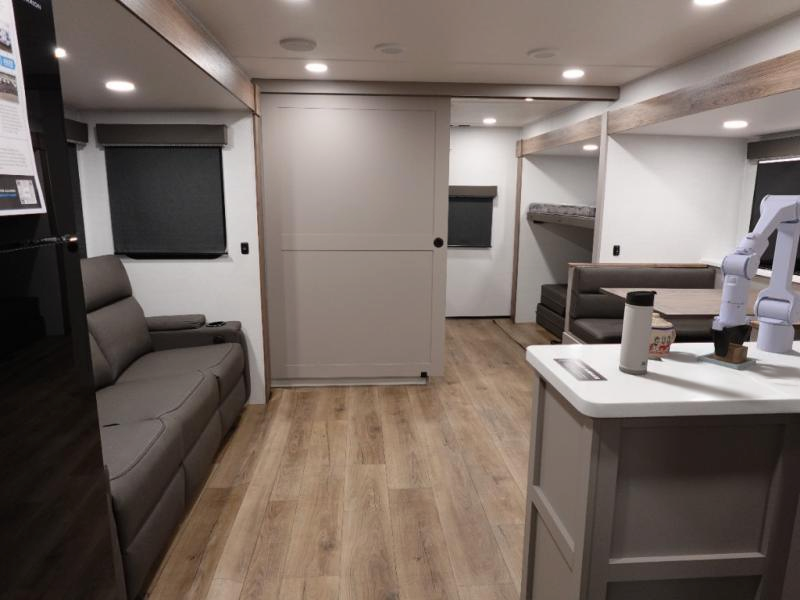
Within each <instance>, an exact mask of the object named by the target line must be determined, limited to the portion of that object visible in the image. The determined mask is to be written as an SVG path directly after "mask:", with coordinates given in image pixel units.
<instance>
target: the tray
mask: <svg viewBox="0 0 800 600" xmlns="http://www.w3.org/2000/svg"><path fill="white" fill-rule="evenodd" d="M713 357H714V351H712V352H710V353H705V354H700V355H698V356H697V361H700V362H704V363H708V364H712V365H715V366H718V367H720V366H721V367H723V368H724V367H725V368H728V369H732V370H736V371H738V370H741V369H745V368H748V367H752V366H755V365H756V364H757V360H755V359H751V358H748V357H747V359H746V362H744V363H741V364H737V365H735V364H731V363H727V362H723V361H718V360H714V359H713Z"/></svg>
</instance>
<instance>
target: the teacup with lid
mask: <svg viewBox="0 0 800 600" xmlns="http://www.w3.org/2000/svg"><path fill="white" fill-rule="evenodd" d="M673 325H674V324H673V323H671V322H669V321H667V320H666V319H664V318H663V317H660V313H657V312H653V318H652V328H651V337H650V346H649V355H648V360H657V361H658V360H659V361H660V360H662V358H661V357H667V356H669V355H670V349H671V345H672V344H673V343H674V342H675V339H676V336H677V335H676V331H675V329H674V326H673Z"/></svg>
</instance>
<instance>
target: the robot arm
mask: <svg viewBox="0 0 800 600" xmlns="http://www.w3.org/2000/svg"><path fill="white" fill-rule="evenodd" d="M759 212H760V218H759V219H758V221H757V223H756V224H755V227H754V229H753V230H752V232H749V233H746V234H745V235H744V236H743V238H742V239H741V241H740V242H739V243H738V245H737V246H736V248H735V249H734V251H733V252H732V253H729V254H728V255H726V256H725V257H723V259H722V262H721V265H720V272H721V283H722V284H723V285H722V294H721V299H720V300H721V302H720V307H719V315H716V316H714V317H713V319H714V320H713V321H712V326H709V328H708V332H709V334H710V336H711V339H712V342H713V347H714V350H715V355H716V356H720V357H725V356H726V354H727V351H728V347H729V344H730V343H733V344H738V345H742V346H744V343H745V341H746V340H747V337H748V336H749V334H750V333H752V331H753V327H752V326H750V321H751V317H750V316H747V313H748V305H749V304H748V303H749V298H750V291H751V283H752V279H753V278H754V277H755V276H756V275H757V274H758V268H759V265H760V262H761V260H760V259H761V257H762V256H763V254H764V253H765V251H766V250H767V248H768V247H769V245H770V243H769V239H768V238H769V237H770V236H771V235H772V233H774V231H775V230H777V235H776V241H775V249H774V253H773V254H774V255H773V261H772V268H771V275H770V279H769V286H768V287H767V288H764V289H762V290H760V292H758V294H757V298H756V301H755V302H754V305H753V313H754V315H755V317H756V319H757V321H759V324H758V325H759V327H758V333H757V340H756V346H755V347H756V348H755V349H757V350H759V351H761V352H764V353H765V352H766V353H770V354H771V353H773V354H787V353H788V352H790V351H792V350H793V345H794V344H793V343H794V338H795V328H794V326H793V325H795V324H796V323H797V322H799V320H800V294H799V293H798V292H796V291H795V290H794V289H793V288H792V282H793V276H794V270H795V266H796V259H797V258H796V257H797V254H798V253H797V252H798V247H799V246H798V245H799V240H800V194H797V195H796V194H795V195H793V194H792V195H791V194H790V195H789V194H788V195H786V194H785V195H784V194H781V195H779V194H777V195H775V194H773V195H772V194H767V195H765V196H764V197H763V198H762V200H761V202H760V205H759Z"/></svg>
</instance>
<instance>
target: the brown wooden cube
mask: <svg viewBox="0 0 800 600" xmlns="http://www.w3.org/2000/svg"><path fill="white" fill-rule="evenodd" d="M748 350H749V346H747V345H738V344H733V343H730V344H729V347H728V351H727V354H726V356H725V357H720V356H716V355H715V349H713V352H714V357H712V359H714V360H718V361H723V362H727V363H731V364H735V365H737V364H741V363H744V362H746V359H747V358H748Z"/></svg>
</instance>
